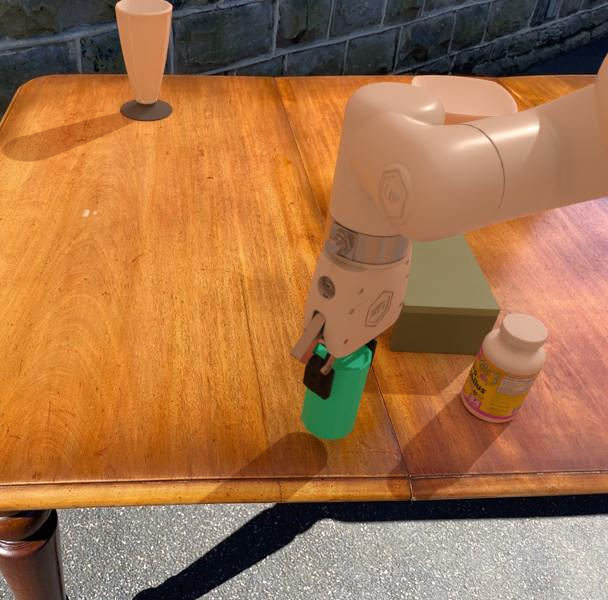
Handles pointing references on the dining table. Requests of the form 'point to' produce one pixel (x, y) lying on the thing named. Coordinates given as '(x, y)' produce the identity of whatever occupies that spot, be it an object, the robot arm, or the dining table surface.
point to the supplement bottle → (505, 368)
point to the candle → (338, 396)
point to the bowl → (467, 97)
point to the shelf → (444, 301)
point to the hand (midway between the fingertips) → (337, 374)
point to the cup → (144, 54)
